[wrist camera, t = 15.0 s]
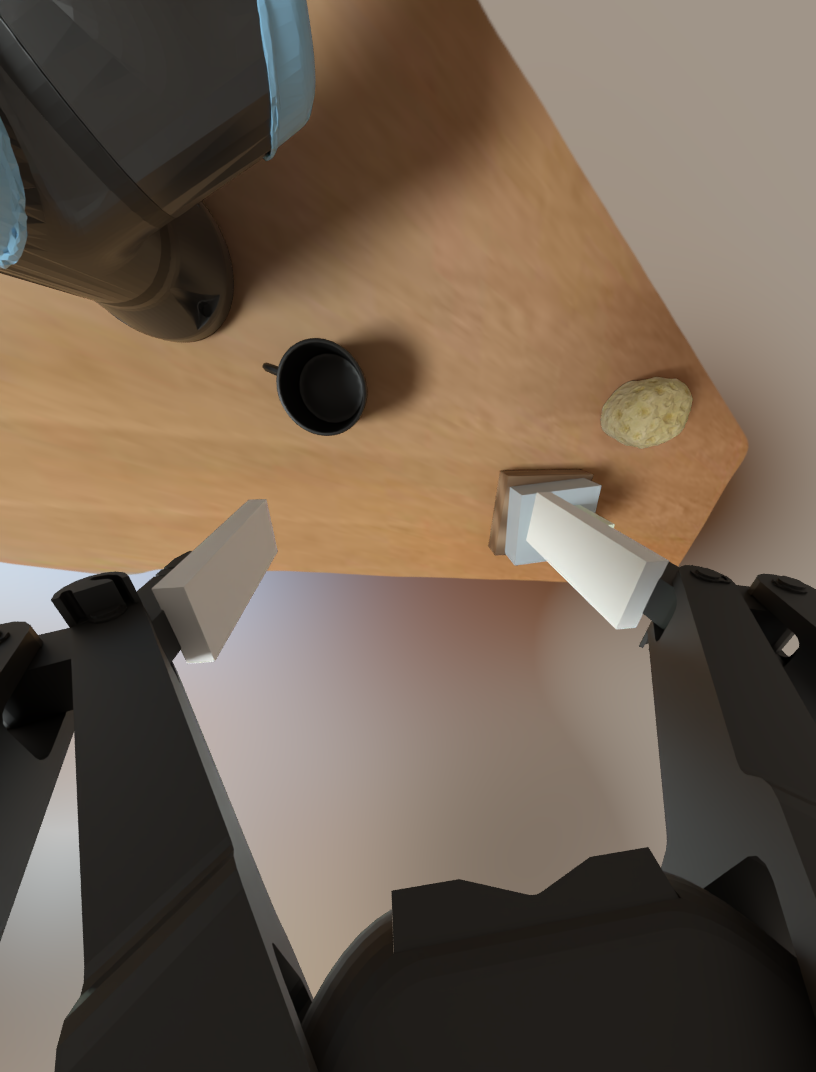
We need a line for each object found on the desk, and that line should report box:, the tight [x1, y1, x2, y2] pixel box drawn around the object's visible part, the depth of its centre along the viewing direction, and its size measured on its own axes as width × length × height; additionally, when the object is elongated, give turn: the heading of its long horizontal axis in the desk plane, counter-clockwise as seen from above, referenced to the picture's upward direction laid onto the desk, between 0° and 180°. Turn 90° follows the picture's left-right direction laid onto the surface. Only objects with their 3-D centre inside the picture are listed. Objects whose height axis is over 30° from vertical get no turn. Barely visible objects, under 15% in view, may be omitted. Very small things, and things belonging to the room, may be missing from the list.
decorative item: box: [601, 377, 693, 449], centre depth 42 cm, size 10×10×10 cm
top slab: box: [505, 478, 601, 565], centre depth 46 cm, size 12×12×4 cm
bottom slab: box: [488, 469, 594, 555], centre depth 50 cm, size 14×14×4 cm
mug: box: [263, 338, 367, 436], centre depth 35 cm, size 9×12×9 cm
